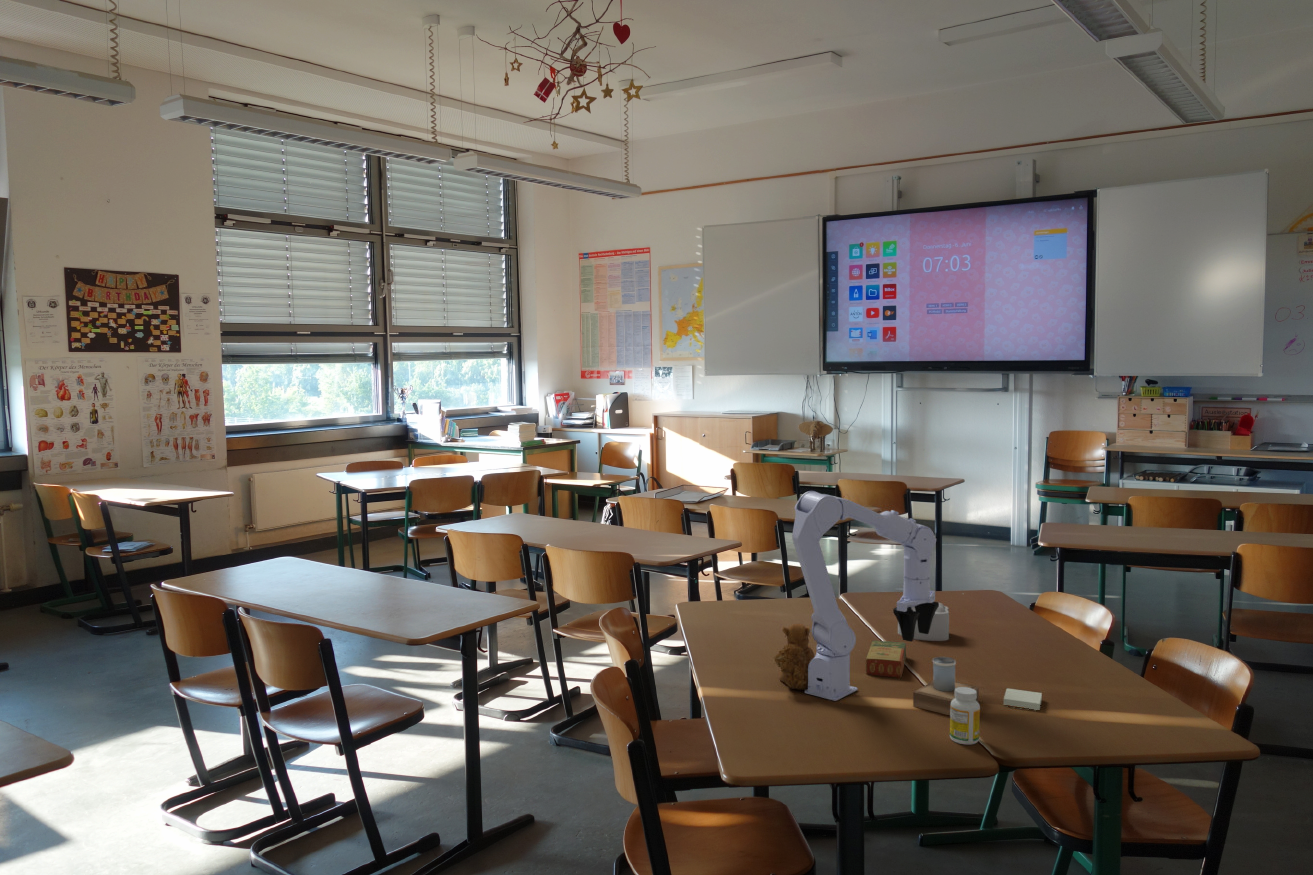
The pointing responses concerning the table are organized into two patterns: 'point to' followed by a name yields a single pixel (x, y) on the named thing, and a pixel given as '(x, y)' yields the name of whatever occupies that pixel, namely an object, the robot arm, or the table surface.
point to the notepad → (1023, 699)
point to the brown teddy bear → (795, 657)
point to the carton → (886, 658)
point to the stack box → (937, 698)
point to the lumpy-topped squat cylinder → (934, 626)
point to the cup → (944, 674)
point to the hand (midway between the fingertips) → (915, 636)
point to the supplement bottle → (964, 716)
